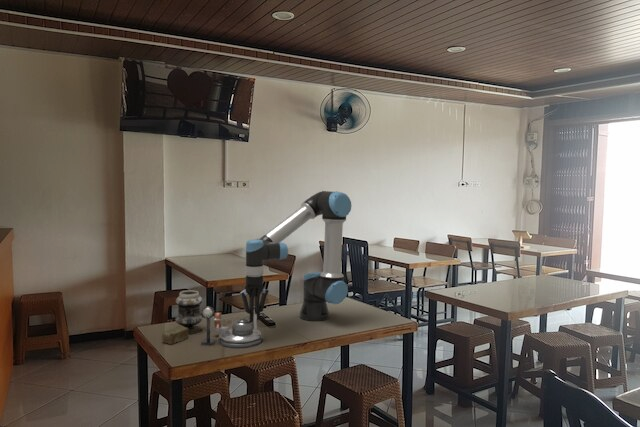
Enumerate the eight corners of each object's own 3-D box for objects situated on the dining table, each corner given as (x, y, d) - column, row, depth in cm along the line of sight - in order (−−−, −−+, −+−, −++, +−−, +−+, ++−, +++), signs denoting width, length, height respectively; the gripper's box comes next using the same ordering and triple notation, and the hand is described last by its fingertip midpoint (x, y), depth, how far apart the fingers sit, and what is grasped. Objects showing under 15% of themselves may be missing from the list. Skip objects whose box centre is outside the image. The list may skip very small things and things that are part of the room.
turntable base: (265, 334, 221) (265, 330, 221) (258, 348, 202) (259, 345, 202) (223, 333, 221) (223, 329, 221) (213, 347, 202) (213, 344, 202)
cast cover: (239, 328, 218) (239, 315, 218) (256, 331, 214) (256, 318, 214) (227, 334, 210) (227, 320, 210) (245, 337, 206) (245, 323, 206)
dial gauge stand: (222, 341, 210) (222, 304, 209) (219, 345, 205) (219, 307, 204) (204, 340, 210) (204, 304, 209) (200, 344, 205) (200, 307, 204)
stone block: (161, 343, 207) (161, 332, 206) (179, 336, 217) (179, 325, 217) (171, 345, 204) (171, 334, 204) (189, 338, 215) (190, 326, 214)
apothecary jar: (203, 333, 221) (203, 294, 219) (176, 336, 216) (176, 296, 215) (200, 325, 232) (200, 288, 231) (174, 328, 228) (174, 290, 226)
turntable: (227, 326, 225) (227, 308, 225) (268, 333, 216) (269, 314, 215) (202, 337, 209) (202, 317, 208) (246, 345, 200) (246, 325, 199)
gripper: (264, 272, 219) (264, 323, 221) (237, 274, 213) (237, 327, 214) (271, 275, 212) (271, 328, 214) (243, 278, 206) (243, 332, 208)
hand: (254, 328), depth 214 cm, fingers closed
